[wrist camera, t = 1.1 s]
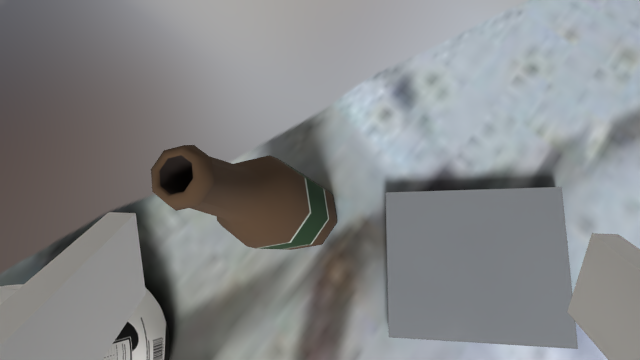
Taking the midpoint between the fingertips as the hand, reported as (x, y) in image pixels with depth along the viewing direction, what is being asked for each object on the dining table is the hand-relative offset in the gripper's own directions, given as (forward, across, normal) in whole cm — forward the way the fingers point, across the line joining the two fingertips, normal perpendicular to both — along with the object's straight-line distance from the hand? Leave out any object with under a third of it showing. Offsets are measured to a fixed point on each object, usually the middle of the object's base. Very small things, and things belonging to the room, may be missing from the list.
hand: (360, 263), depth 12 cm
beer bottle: (+30, -2, -13) cm, 33 cm away
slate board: (+24, +14, -14) cm, 31 cm away
